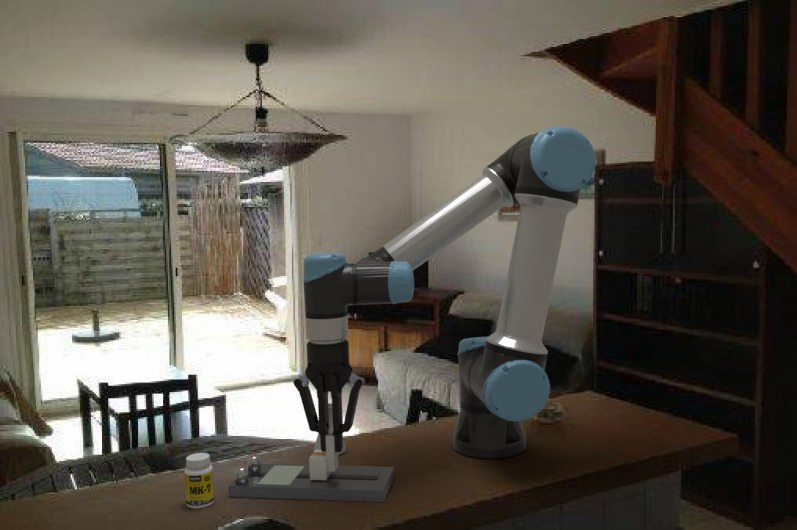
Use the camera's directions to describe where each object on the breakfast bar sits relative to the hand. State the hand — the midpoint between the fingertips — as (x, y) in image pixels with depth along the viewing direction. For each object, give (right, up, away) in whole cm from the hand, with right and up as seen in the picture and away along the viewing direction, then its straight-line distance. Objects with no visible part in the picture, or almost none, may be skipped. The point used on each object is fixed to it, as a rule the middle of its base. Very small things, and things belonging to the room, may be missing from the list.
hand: (332, 468), depth 124 cm
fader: (-2, -1, +1) cm, 3 cm away
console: (-4, -4, +1) cm, 5 cm away
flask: (-2, -3, +19) cm, 20 cm away
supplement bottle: (-23, -5, -4) cm, 24 cm away
